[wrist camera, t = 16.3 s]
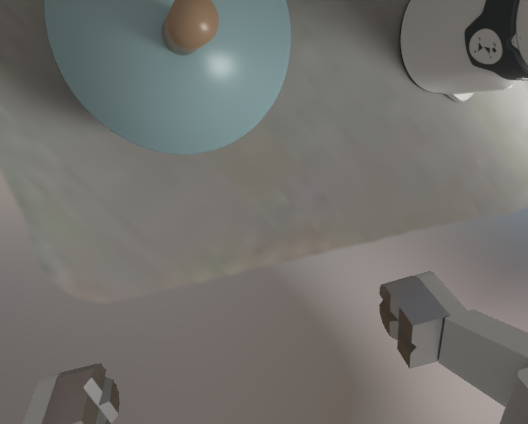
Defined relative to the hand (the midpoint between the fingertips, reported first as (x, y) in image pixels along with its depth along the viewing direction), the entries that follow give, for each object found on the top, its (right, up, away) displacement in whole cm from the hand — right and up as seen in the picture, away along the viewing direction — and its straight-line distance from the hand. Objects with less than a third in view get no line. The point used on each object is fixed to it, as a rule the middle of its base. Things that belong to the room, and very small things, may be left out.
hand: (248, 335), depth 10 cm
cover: (-7, +19, +21) cm, 29 cm away
